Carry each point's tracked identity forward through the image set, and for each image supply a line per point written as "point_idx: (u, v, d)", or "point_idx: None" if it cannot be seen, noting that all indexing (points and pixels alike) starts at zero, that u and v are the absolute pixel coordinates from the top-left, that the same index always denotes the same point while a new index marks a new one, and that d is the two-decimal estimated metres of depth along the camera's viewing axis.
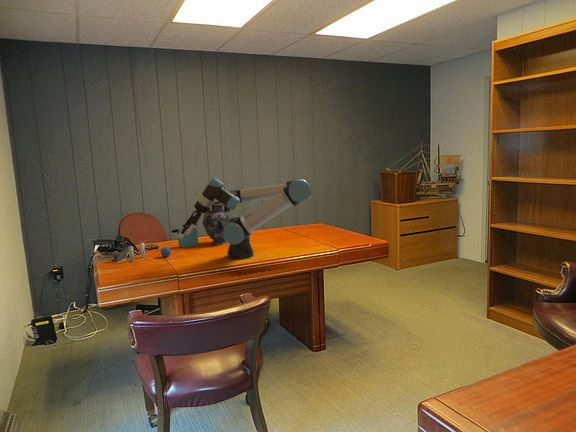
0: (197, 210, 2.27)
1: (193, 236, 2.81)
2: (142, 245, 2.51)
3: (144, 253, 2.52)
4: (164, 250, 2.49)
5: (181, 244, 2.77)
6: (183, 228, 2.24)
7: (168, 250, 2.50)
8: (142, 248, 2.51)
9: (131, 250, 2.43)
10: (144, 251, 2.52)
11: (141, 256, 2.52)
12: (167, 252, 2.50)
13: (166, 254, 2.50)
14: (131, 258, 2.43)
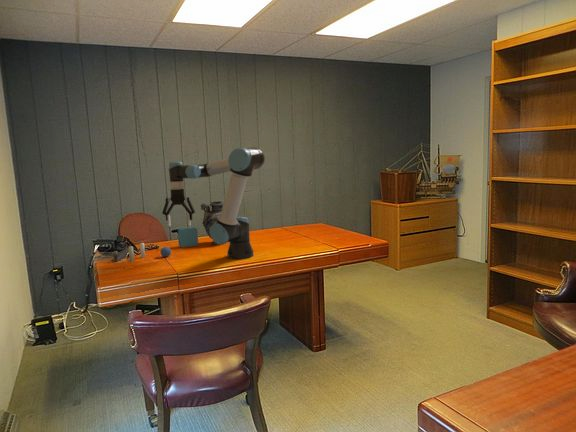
0: None
1: (193, 236, 2.81)
2: (142, 245, 2.51)
3: (144, 253, 2.52)
4: (164, 250, 2.49)
5: (181, 244, 2.77)
6: None
7: (168, 250, 2.50)
8: (142, 248, 2.51)
9: (131, 250, 2.43)
10: (144, 251, 2.52)
11: (141, 256, 2.52)
12: (167, 252, 2.50)
13: (166, 254, 2.50)
14: (131, 258, 2.43)
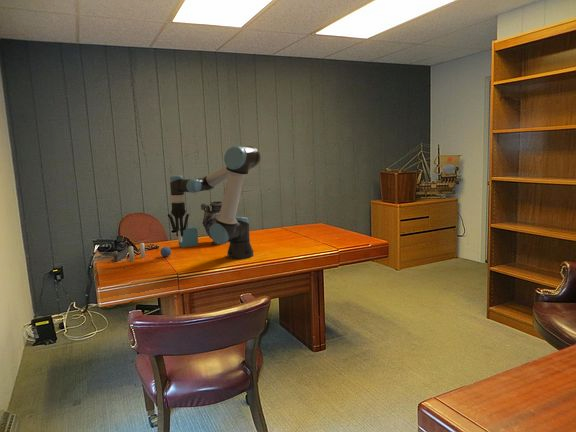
0: None
1: (193, 236, 2.81)
2: (142, 245, 2.51)
3: (144, 253, 2.52)
4: (164, 250, 2.49)
5: (181, 244, 2.77)
6: None
7: (168, 250, 2.50)
8: (142, 248, 2.51)
9: (131, 250, 2.43)
10: (144, 251, 2.52)
11: (141, 256, 2.52)
12: (167, 252, 2.50)
13: (166, 254, 2.50)
14: (131, 258, 2.43)
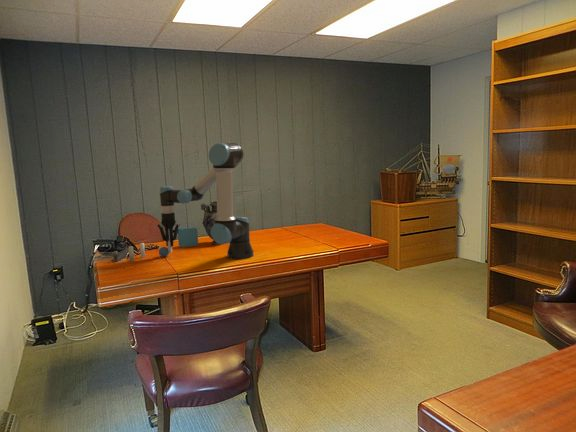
0: None
1: (193, 236, 2.81)
2: (142, 245, 2.51)
3: (144, 253, 2.52)
4: (162, 250, 2.49)
5: (181, 244, 2.77)
6: None
7: (166, 249, 2.50)
8: (142, 248, 2.51)
9: (131, 250, 2.43)
10: (144, 251, 2.52)
11: (141, 256, 2.52)
12: (165, 251, 2.50)
13: (164, 254, 2.50)
14: (131, 258, 2.43)
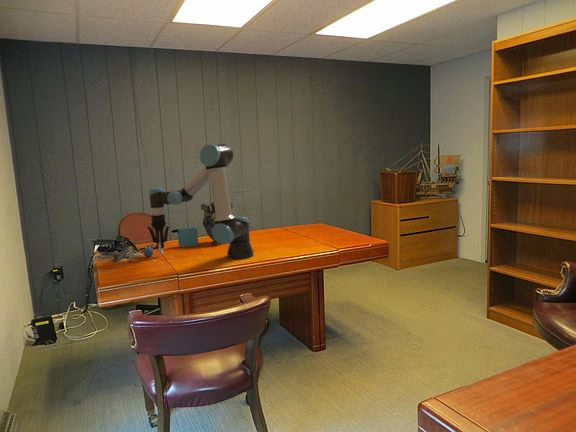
0: None
1: (193, 236, 2.81)
2: (128, 254, 2.54)
3: (136, 253, 2.53)
4: (146, 254, 2.51)
5: (181, 244, 2.77)
6: (157, 243, 2.52)
7: None
8: None
9: (131, 250, 2.43)
10: (135, 253, 2.54)
11: (138, 256, 2.52)
12: (144, 253, 2.51)
13: (144, 251, 2.51)
14: (131, 258, 2.43)
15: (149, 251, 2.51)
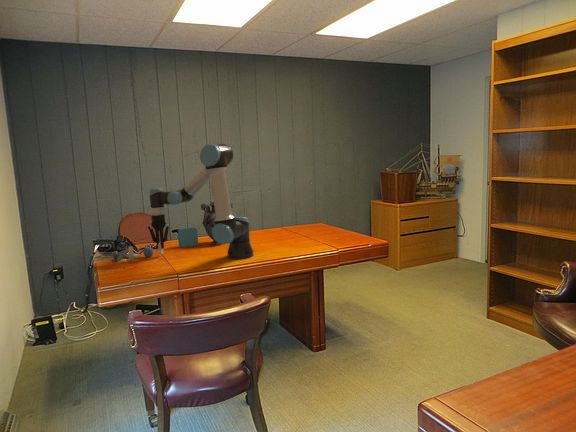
0: None
1: (193, 236, 2.81)
2: (127, 257, 2.52)
3: (134, 256, 2.51)
4: (146, 254, 2.51)
5: (181, 244, 2.77)
6: (157, 243, 2.52)
7: None
8: None
9: (131, 250, 2.43)
10: None
11: None
12: (144, 253, 2.51)
13: (144, 251, 2.51)
14: (131, 258, 2.43)
15: (149, 251, 2.51)
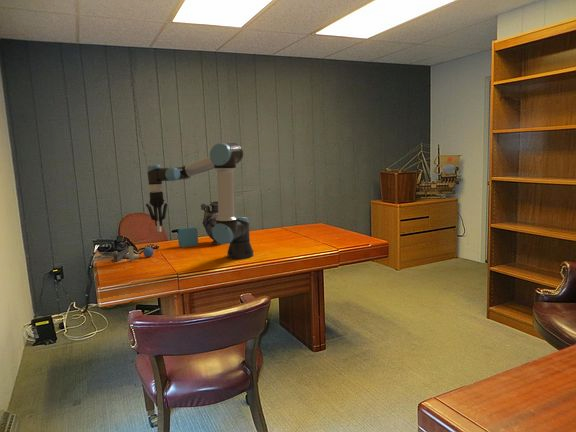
0: None
1: (193, 236, 2.81)
2: None
3: (134, 257, 2.51)
4: (146, 254, 2.51)
5: (181, 244, 2.77)
6: None
7: None
8: None
9: (131, 250, 2.43)
10: None
11: (138, 257, 2.52)
12: (144, 253, 2.51)
13: (144, 251, 2.51)
14: (131, 258, 2.43)
15: (149, 251, 2.51)
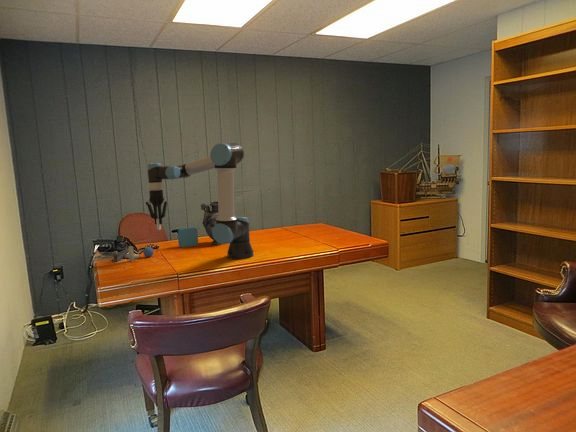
0: None
1: (193, 236, 2.81)
2: None
3: None
4: (146, 254, 2.51)
5: (181, 244, 2.77)
6: None
7: None
8: None
9: (131, 250, 2.43)
10: None
11: None
12: (144, 253, 2.51)
13: (144, 251, 2.51)
14: (131, 258, 2.43)
15: (149, 251, 2.51)
